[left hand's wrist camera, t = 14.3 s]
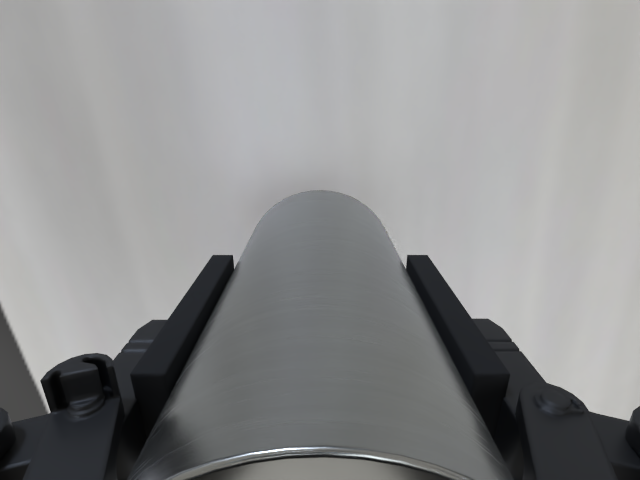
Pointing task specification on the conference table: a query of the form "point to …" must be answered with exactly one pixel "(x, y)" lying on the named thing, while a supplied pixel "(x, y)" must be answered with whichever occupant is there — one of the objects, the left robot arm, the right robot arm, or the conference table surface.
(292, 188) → the conference table surface
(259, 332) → the can
